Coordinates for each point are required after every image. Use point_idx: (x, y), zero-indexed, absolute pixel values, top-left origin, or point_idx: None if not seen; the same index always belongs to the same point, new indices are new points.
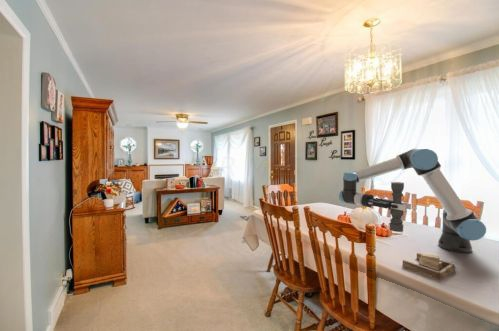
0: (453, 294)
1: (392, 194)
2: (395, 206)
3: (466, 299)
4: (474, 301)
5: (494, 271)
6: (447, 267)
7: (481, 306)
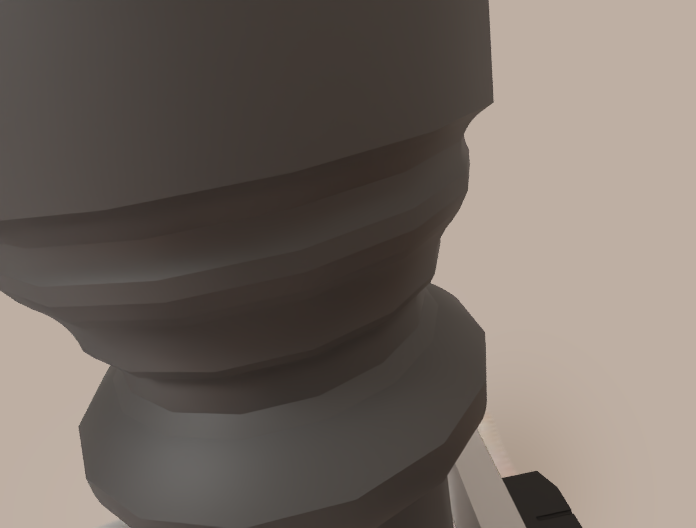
0: (510, 471)
1: (483, 382)
2: (555, 504)
3: (494, 442)
4: (478, 429)
5: (109, 523)
6: None
7: (487, 411)
